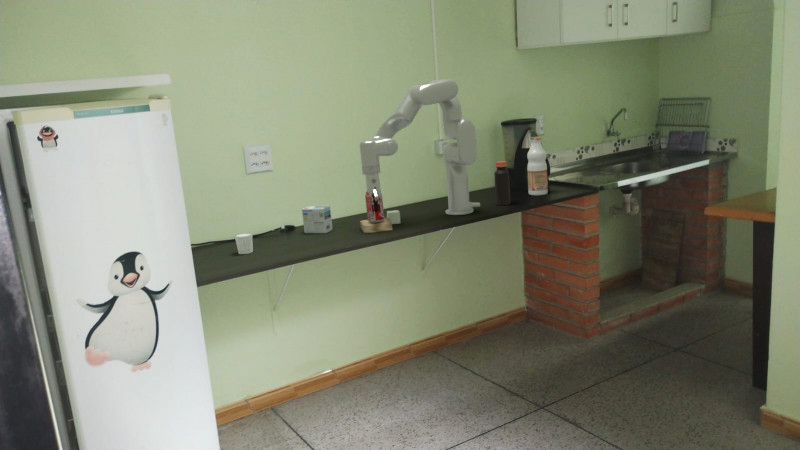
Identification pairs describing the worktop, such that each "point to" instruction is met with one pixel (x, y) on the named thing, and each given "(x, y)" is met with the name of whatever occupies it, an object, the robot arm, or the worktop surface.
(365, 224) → the slab
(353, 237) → the worktop surface
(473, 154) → the robot arm
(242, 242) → the white cup
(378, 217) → the soda can
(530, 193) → the fruit juice
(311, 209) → the light bulb box
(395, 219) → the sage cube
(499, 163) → the bottle
